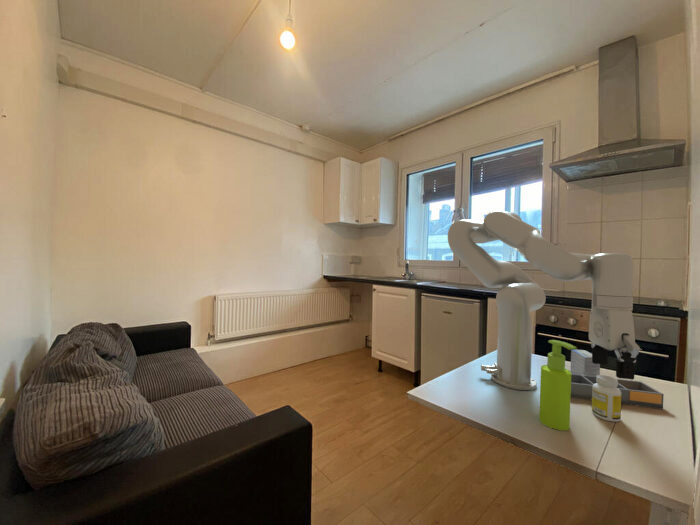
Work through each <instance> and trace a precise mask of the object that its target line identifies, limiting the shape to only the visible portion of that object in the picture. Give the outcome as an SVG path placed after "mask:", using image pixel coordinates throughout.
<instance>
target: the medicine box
mask: <svg viewBox="0 0 700 525" xmlns="http://www.w3.org/2000/svg"><path fill="white" fill-rule="evenodd" d="M570 351H571V352H570V372H571V374H579V375H587V376H597V375H601V374H600V373H601V364H594V363H593V362H592V352H589V351H588V350H584V349H572V350H570Z"/></svg>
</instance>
